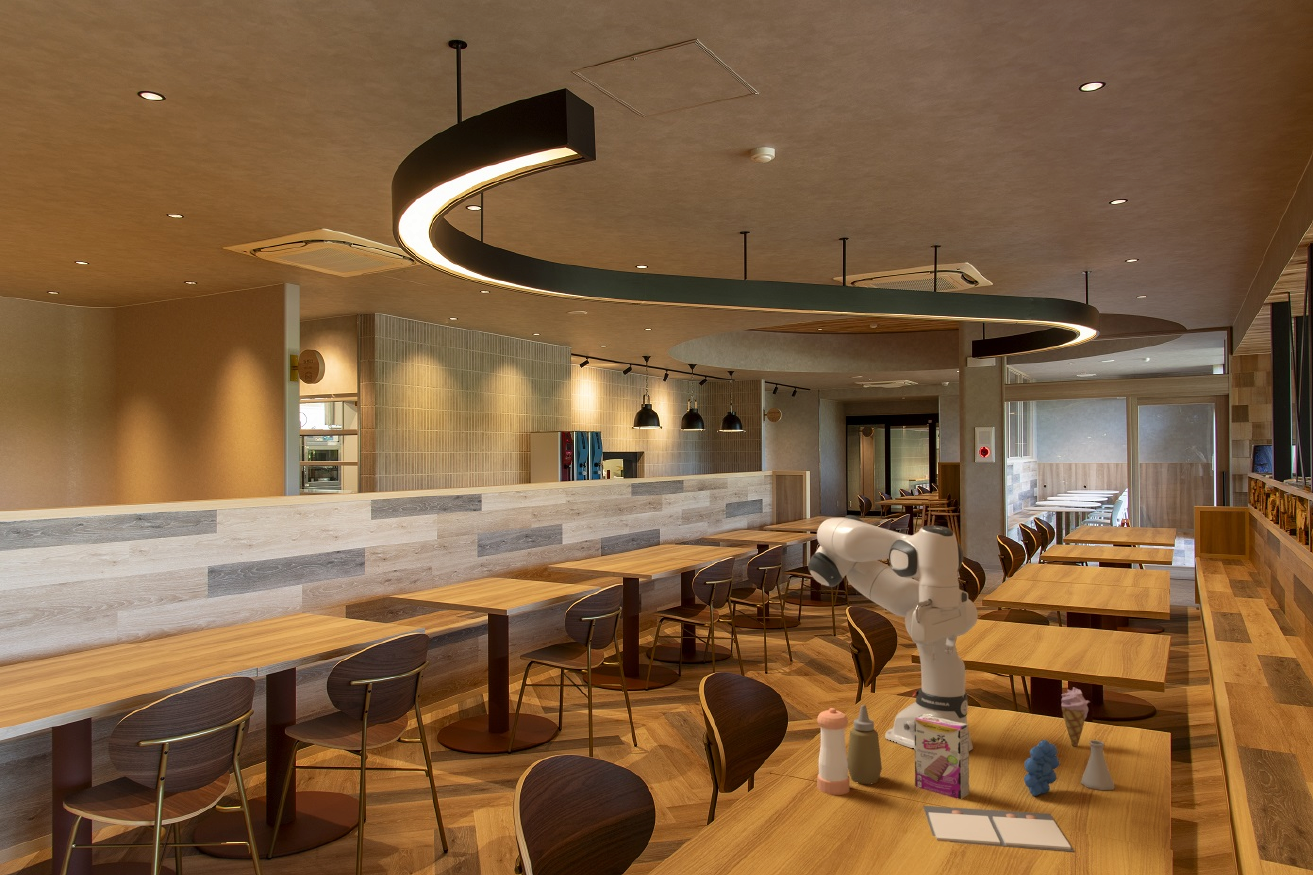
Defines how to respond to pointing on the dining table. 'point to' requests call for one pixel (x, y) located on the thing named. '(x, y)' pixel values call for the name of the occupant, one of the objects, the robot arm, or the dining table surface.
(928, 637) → the robot arm
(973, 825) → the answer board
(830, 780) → the pepper shaker
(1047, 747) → the grapes
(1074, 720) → the ice cream cone
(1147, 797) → the dining table surface
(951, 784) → the candy bar box
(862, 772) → the squeeze bottle
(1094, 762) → the flask
